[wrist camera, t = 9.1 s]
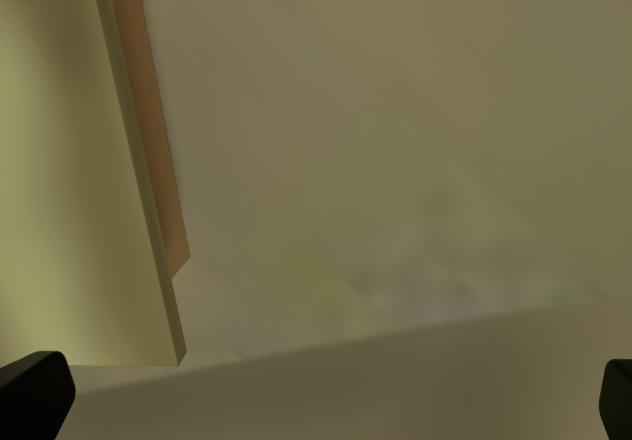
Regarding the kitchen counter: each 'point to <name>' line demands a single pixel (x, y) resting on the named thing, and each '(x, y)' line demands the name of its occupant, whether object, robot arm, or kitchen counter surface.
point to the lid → (77, 196)
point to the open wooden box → (152, 129)
